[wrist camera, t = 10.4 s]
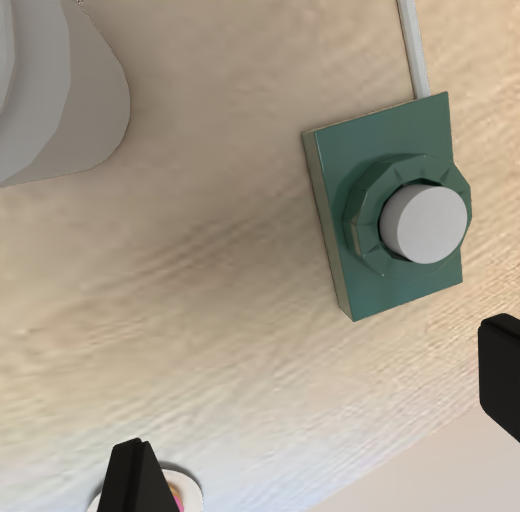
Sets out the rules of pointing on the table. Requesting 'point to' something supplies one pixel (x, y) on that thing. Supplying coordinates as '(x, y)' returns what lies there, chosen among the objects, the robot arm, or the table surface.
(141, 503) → the robot arm
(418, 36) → the pencil
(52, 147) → the can
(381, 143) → the button block
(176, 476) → the donut
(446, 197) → the flush button
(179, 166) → the table surface
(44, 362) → the table surface
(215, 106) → the table surface
